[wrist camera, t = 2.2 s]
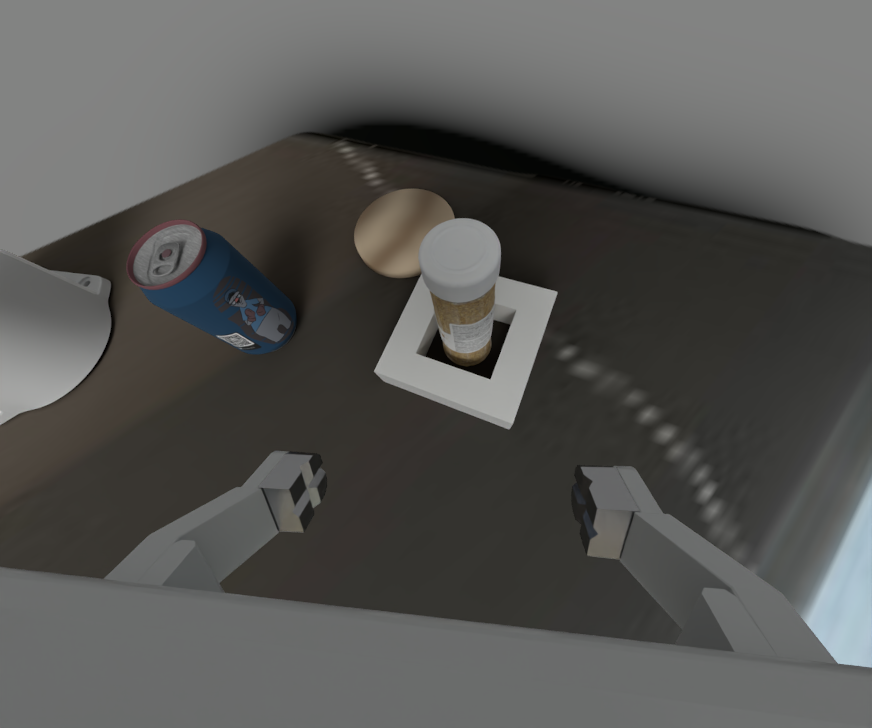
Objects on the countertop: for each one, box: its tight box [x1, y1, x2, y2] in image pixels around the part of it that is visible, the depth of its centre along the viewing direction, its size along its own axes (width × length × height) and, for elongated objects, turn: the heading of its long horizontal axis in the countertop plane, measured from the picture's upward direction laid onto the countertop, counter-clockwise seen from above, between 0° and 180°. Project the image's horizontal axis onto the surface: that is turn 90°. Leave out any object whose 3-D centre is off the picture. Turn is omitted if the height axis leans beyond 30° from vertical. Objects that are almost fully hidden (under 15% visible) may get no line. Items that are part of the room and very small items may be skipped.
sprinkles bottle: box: [418, 218, 501, 366], centre depth 23 cm, size 5×5×13 cm
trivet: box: [354, 189, 455, 278], centre depth 34 cm, size 11×11×1 cm
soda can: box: [126, 220, 296, 354], centre depth 27 cm, size 7×7×12 cm
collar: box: [374, 274, 557, 429], centre depth 28 cm, size 12×12×3 cm
